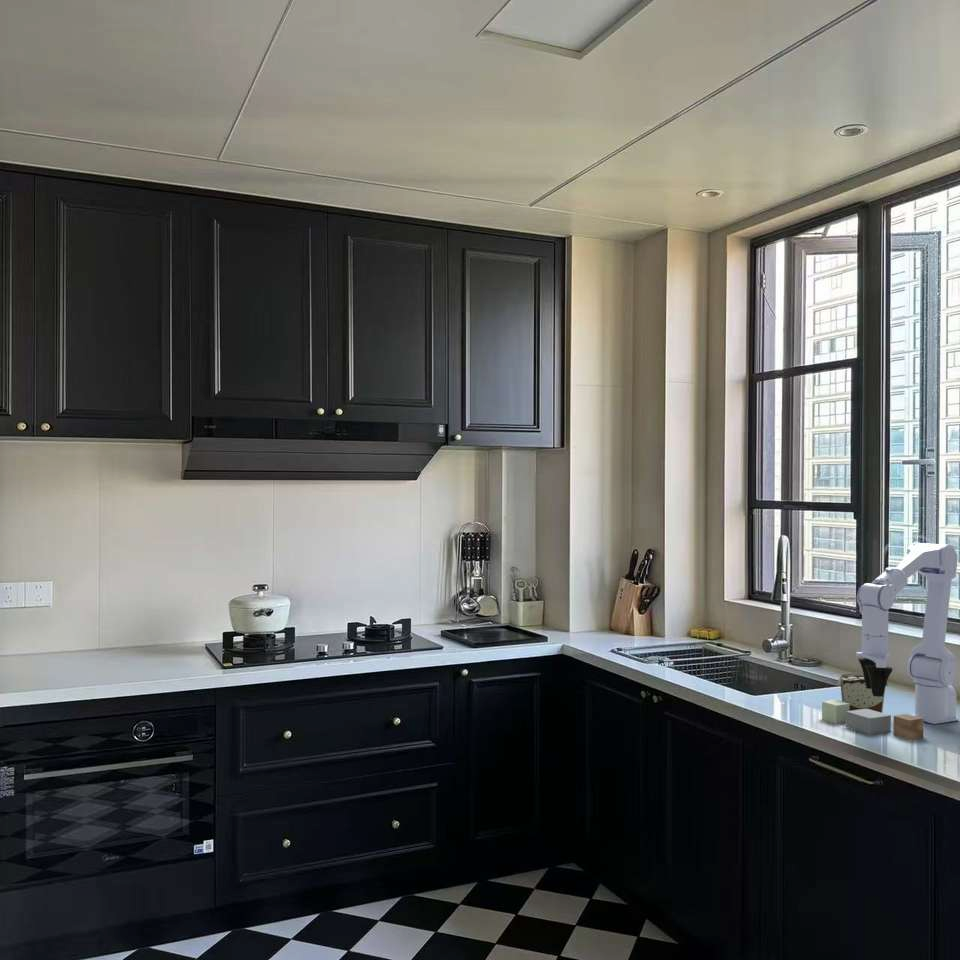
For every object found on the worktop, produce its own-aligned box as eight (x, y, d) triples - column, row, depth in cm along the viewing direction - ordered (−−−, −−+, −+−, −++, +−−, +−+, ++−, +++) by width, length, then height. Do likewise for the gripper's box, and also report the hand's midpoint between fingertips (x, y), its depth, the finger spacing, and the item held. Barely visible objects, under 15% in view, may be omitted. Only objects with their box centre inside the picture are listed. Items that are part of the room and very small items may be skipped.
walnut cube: (906, 732, 216) (906, 713, 216) (923, 737, 212) (923, 718, 212) (893, 734, 214) (893, 715, 214) (909, 739, 210) (910, 720, 210)
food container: (876, 711, 235) (876, 672, 235) (887, 717, 229) (888, 677, 229) (829, 711, 235) (829, 672, 235) (839, 717, 229) (839, 677, 229)
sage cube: (835, 717, 229) (835, 699, 229) (849, 721, 225) (849, 703, 225) (821, 719, 227) (822, 701, 227) (836, 723, 223) (836, 705, 223)
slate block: (866, 724, 223) (866, 708, 223) (890, 732, 217) (890, 715, 217) (845, 727, 220) (846, 711, 220) (869, 735, 214) (870, 718, 214)
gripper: (851, 629, 222) (850, 684, 223) (862, 639, 208) (862, 698, 208) (882, 630, 221) (881, 686, 221) (895, 640, 207) (895, 700, 207)
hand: (874, 692), depth 215 cm, fingers open, 7 cm apart
